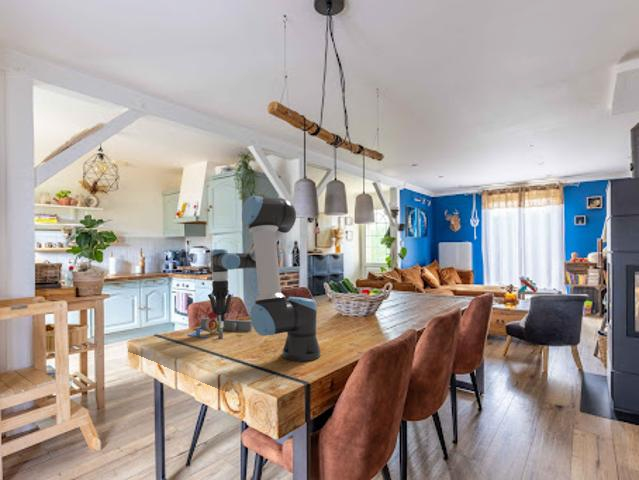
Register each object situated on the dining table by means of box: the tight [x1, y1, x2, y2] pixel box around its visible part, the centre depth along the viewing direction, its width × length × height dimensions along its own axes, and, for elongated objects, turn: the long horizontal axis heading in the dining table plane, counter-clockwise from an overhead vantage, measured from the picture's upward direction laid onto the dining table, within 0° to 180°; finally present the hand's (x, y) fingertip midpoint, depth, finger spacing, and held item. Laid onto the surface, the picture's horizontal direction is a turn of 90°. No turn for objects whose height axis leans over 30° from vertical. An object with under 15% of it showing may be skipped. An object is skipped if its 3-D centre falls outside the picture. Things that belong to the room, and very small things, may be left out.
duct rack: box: [187, 317, 253, 340], centre depth 175 cm, size 18×28×5 cm, turn 77°
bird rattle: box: [205, 311, 225, 335], centre depth 174 cm, size 6×11×9 cm
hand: (221, 327), depth 174 cm, fingers closed
